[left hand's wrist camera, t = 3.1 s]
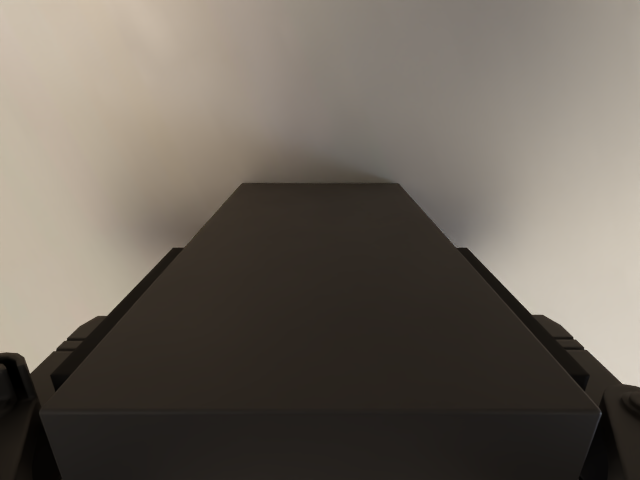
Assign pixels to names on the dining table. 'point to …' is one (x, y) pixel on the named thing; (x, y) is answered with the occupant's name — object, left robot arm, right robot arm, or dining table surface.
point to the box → (320, 358)
